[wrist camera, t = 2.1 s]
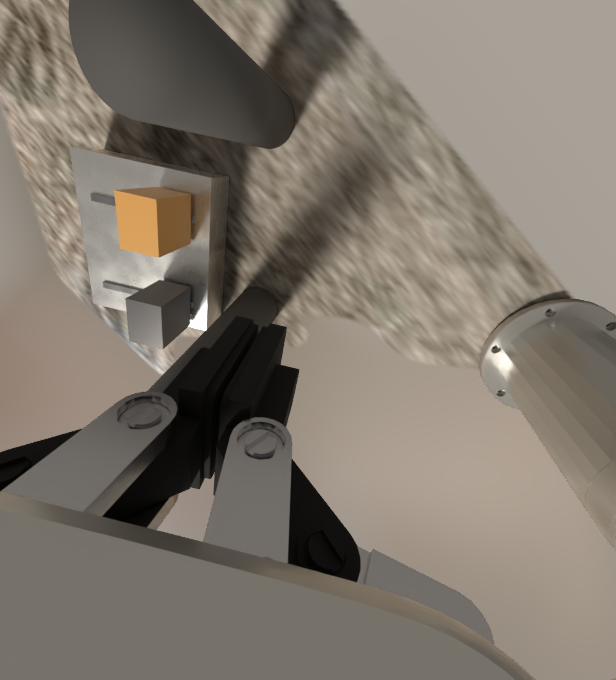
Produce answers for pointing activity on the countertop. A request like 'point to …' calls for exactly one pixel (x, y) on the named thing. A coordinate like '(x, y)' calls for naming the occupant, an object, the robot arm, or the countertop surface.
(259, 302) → the post
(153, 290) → the grey small block
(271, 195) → the countertop surface
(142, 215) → the tab orange
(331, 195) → the countertop surface
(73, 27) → the post
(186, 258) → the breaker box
